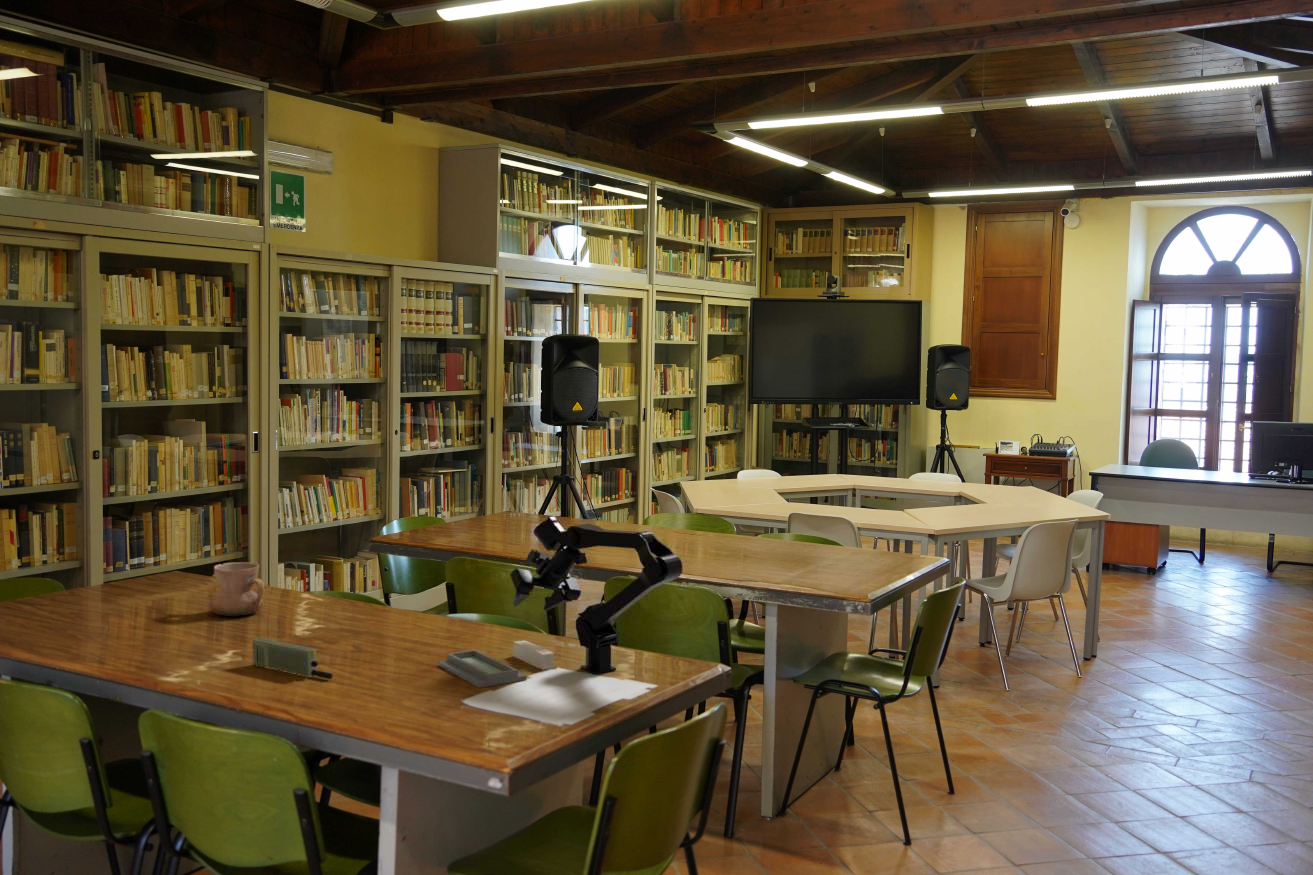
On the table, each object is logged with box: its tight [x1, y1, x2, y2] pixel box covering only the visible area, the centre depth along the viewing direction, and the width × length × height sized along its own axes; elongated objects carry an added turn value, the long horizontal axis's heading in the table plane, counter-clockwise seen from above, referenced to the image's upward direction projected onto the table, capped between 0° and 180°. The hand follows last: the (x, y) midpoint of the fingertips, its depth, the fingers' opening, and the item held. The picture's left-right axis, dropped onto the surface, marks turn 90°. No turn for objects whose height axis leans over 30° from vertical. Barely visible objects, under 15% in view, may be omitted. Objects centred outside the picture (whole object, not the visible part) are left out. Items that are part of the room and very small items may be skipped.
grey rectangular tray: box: [438, 649, 527, 689], centre depth 250 cm, size 22×12×3 cm, turn 35°
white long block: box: [513, 640, 555, 671], centre depth 261 cm, size 15×3×4 cm, turn 35°
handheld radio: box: [252, 637, 333, 680], centre depth 247 cm, size 7×3×25 cm
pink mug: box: [208, 561, 265, 617], centre depth 307 cm, size 18×14×14 cm
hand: (529, 607), depth 267 cm, fingers open, 9 cm apart
